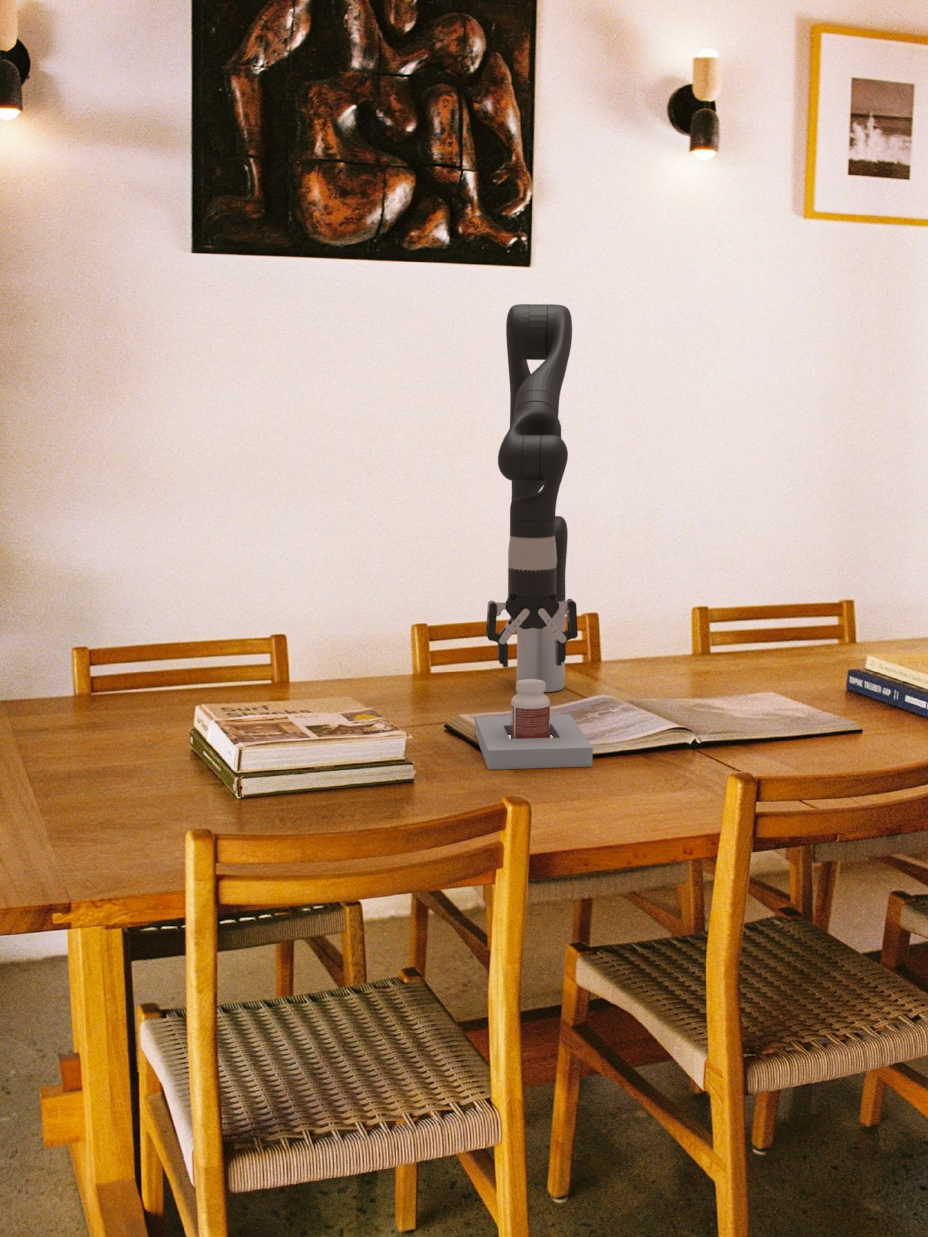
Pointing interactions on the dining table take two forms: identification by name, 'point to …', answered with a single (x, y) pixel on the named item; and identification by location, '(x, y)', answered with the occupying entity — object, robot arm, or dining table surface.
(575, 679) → the dining table surface
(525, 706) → the pill bottle
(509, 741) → the socket board
